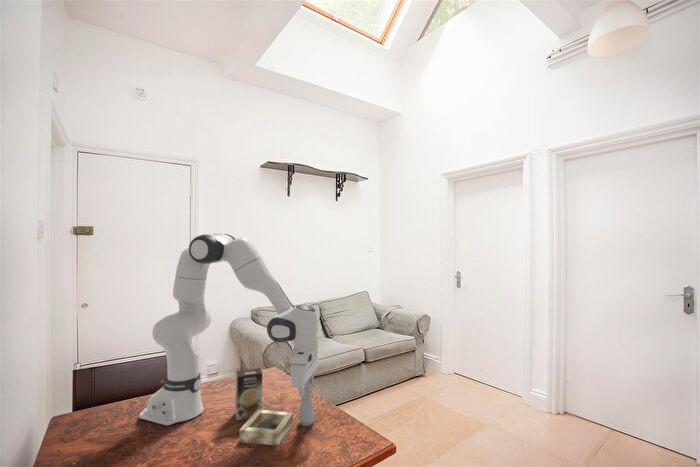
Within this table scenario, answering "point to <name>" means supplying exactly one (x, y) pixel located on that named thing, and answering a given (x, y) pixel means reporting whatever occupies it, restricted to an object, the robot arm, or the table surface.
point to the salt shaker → (306, 408)
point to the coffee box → (248, 392)
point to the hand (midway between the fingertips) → (306, 389)
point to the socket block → (266, 427)
